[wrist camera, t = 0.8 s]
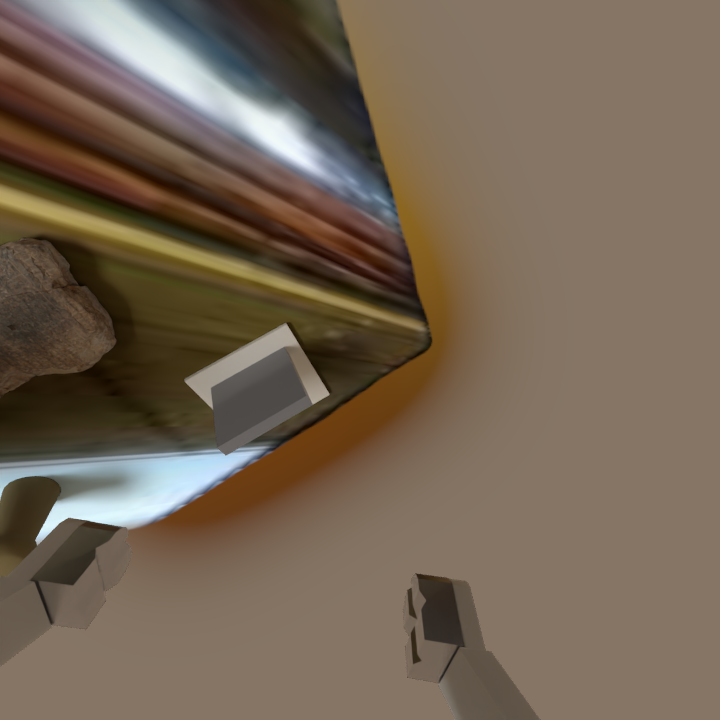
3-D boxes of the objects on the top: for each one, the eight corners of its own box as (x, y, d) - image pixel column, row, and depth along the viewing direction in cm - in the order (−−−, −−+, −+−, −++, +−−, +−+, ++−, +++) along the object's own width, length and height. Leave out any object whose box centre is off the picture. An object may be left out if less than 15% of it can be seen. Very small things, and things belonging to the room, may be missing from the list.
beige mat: (184, 378, 47) (184, 381, 47) (285, 322, 49) (286, 324, 49) (246, 440, 58) (246, 443, 57) (328, 392, 59) (329, 394, 59)
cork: (-7, 502, 46) (-49, 585, 38) (16, 471, 45) (-21, 551, 37) (47, 509, 50) (20, 587, 41) (70, 482, 49) (46, 555, 41)
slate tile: (210, 387, 49) (217, 447, 40) (284, 346, 50) (306, 395, 41) (218, 396, 50) (226, 456, 41) (290, 355, 52) (313, 405, 43)
